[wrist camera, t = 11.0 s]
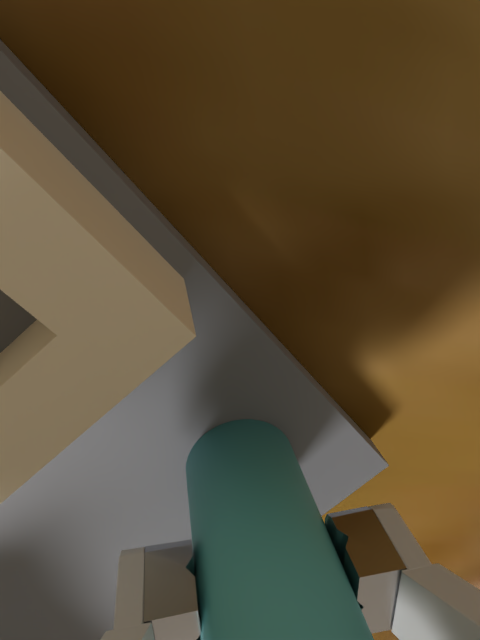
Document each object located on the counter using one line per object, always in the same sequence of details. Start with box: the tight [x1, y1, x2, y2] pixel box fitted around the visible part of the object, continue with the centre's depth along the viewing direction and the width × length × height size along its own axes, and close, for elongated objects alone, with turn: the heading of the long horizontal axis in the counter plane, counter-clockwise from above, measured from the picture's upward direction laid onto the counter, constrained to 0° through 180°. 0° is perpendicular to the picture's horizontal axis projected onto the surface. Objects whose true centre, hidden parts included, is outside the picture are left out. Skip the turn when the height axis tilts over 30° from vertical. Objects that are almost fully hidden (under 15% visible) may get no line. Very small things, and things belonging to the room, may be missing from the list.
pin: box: [186, 419, 374, 640], centre depth 9 cm, size 3×3×7 cm
